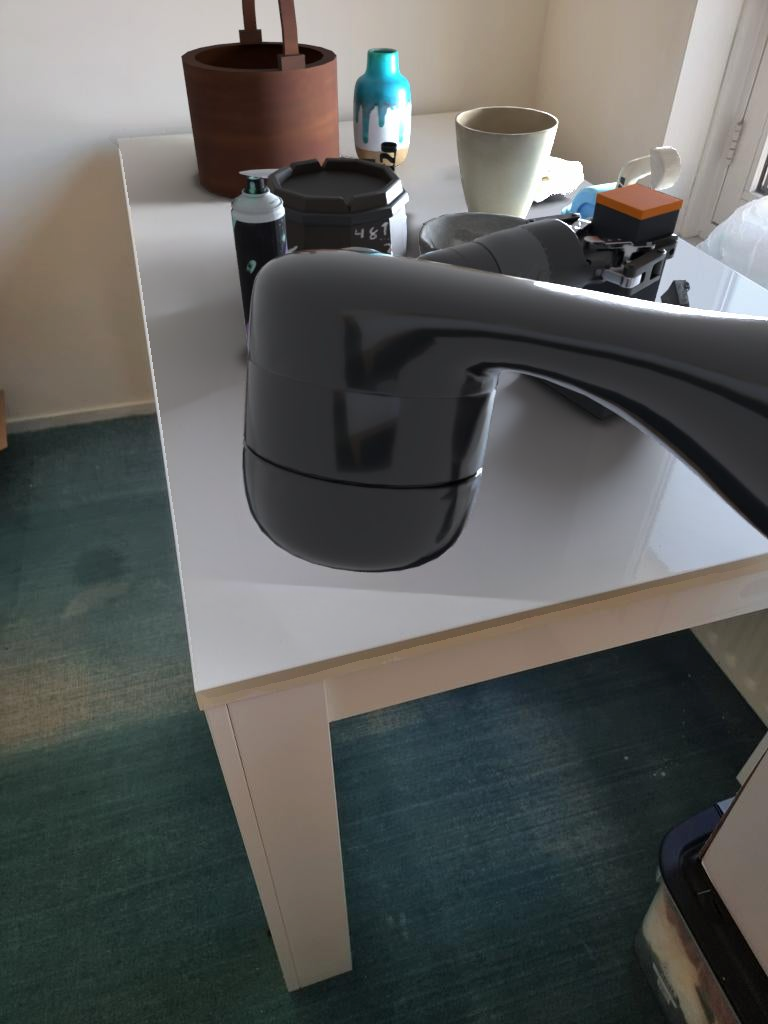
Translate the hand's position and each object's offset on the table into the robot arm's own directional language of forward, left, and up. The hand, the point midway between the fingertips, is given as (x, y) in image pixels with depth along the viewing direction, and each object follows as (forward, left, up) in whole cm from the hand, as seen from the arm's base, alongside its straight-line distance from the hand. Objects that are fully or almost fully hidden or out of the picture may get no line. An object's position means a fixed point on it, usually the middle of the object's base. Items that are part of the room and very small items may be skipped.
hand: (647, 234), depth 71 cm
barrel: (+37, -8, -17) cm, 42 cm away
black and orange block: (+1, +2, -6) cm, 7 cm away
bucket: (+69, -50, -17) cm, 87 cm away
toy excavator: (+6, -34, -17) cm, 39 cm away
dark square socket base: (0, -3, -17) cm, 17 cm away
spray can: (+38, +8, -17) cm, 43 cm away
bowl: (+20, -19, -17) cm, 33 cm away
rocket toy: (+48, -28, -17) cm, 58 cm away
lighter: (-6, -18, -17) cm, 26 cm away
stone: (+22, -65, -17) cm, 71 cm away
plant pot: (+24, -41, -17) cm, 51 cm away
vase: (+52, -63, -17) cm, 84 cm away
